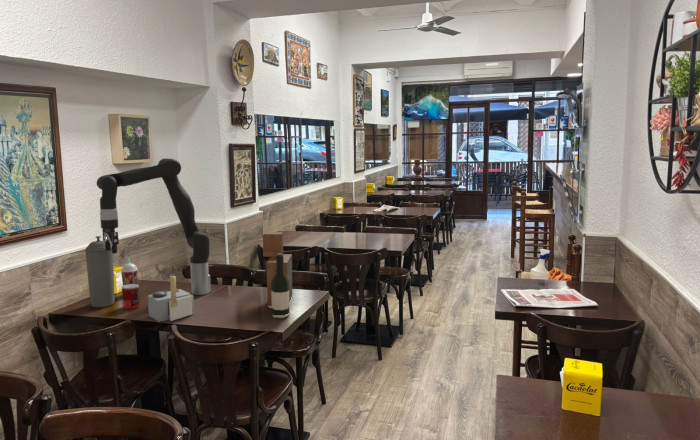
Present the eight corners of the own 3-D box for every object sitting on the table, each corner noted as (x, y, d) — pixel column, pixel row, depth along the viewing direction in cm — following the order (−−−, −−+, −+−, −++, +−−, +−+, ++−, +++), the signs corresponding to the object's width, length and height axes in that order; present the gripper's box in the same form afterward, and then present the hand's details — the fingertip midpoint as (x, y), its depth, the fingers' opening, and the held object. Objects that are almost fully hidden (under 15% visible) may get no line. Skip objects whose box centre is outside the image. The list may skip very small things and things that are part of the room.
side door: (192, 313, 249) (191, 271, 246) (196, 314, 247) (194, 272, 244) (169, 320, 239) (167, 276, 236) (173, 321, 237) (171, 277, 234)
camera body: (181, 308, 257) (180, 286, 255) (191, 314, 249) (190, 291, 247) (148, 315, 246) (147, 292, 244) (158, 321, 238) (157, 297, 236)
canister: (122, 301, 267) (118, 234, 262) (104, 309, 255) (100, 239, 249) (100, 299, 270) (96, 233, 265) (82, 307, 258) (77, 237, 252)
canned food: (134, 310, 254) (133, 288, 252) (119, 309, 255) (118, 287, 254) (143, 305, 261) (142, 284, 260) (129, 304, 263) (127, 283, 261)
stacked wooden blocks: (265, 296, 277) (264, 232, 272) (292, 297, 277) (291, 232, 272) (259, 308, 258) (257, 238, 253) (288, 308, 258) (287, 239, 253)
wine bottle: (281, 319, 242) (281, 256, 237) (268, 316, 246) (267, 254, 241) (293, 314, 249) (292, 253, 244) (279, 311, 253) (278, 251, 248)
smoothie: (142, 293, 281) (140, 257, 278) (128, 297, 274) (126, 260, 271) (132, 291, 285) (130, 255, 282) (119, 295, 278) (116, 258, 275)
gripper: (122, 219, 243) (125, 253, 246) (112, 215, 254) (114, 248, 256) (106, 220, 238) (108, 255, 241) (95, 217, 249) (97, 250, 251)
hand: (111, 251), depth 248 cm, fingers open, 8 cm apart
